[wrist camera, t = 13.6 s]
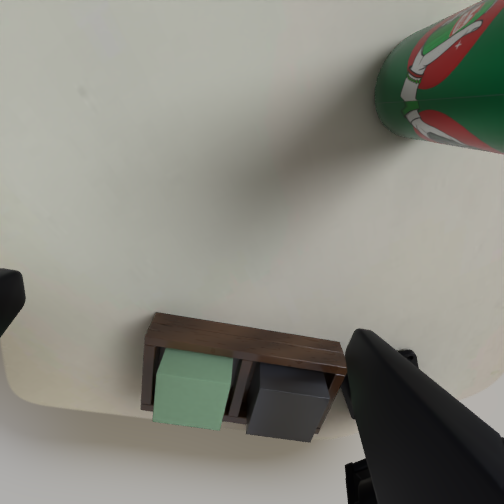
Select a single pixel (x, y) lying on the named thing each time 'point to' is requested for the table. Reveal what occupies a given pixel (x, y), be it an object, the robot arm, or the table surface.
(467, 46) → the soda can
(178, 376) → the green block
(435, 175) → the table surface
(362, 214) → the table surface
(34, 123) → the table surface
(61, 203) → the table surface
